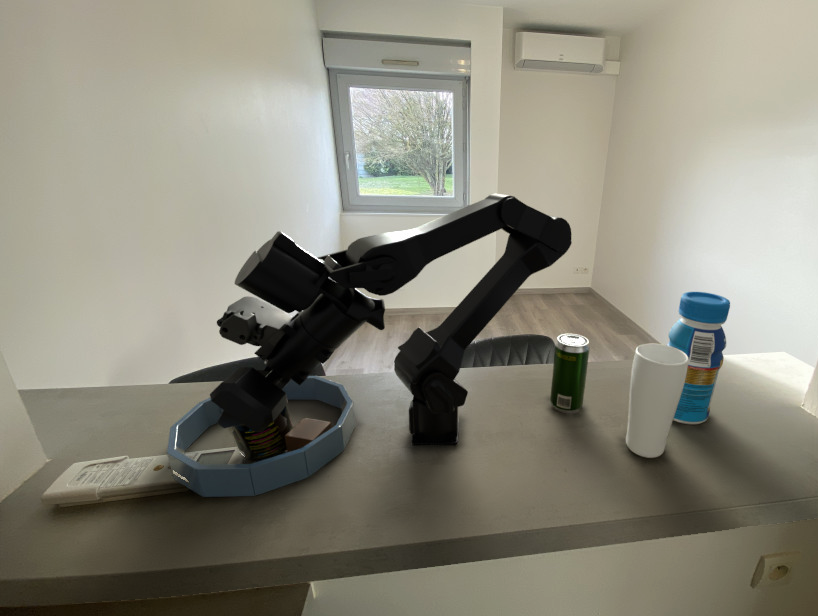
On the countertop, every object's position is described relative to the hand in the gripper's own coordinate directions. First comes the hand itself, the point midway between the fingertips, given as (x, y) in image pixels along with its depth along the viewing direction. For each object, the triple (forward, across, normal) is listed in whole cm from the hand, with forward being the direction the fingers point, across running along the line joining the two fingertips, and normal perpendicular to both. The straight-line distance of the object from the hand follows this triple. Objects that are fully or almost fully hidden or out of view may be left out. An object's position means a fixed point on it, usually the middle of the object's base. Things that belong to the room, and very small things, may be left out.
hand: (239, 406), depth 51 cm
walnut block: (0, -1, +11) cm, 11 cm away
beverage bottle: (-40, -12, +50) cm, 65 cm away
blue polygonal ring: (+5, -4, +6) cm, 9 cm away
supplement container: (+4, -2, +6) cm, 8 cm away
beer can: (-26, -13, +37) cm, 47 cm away
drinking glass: (-33, -2, +43) cm, 54 cm away
